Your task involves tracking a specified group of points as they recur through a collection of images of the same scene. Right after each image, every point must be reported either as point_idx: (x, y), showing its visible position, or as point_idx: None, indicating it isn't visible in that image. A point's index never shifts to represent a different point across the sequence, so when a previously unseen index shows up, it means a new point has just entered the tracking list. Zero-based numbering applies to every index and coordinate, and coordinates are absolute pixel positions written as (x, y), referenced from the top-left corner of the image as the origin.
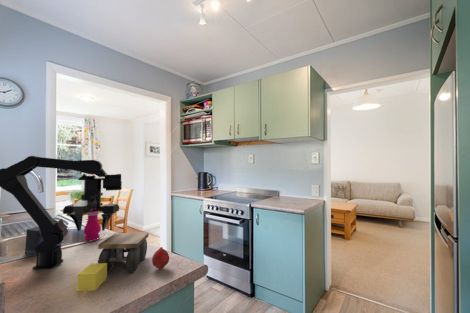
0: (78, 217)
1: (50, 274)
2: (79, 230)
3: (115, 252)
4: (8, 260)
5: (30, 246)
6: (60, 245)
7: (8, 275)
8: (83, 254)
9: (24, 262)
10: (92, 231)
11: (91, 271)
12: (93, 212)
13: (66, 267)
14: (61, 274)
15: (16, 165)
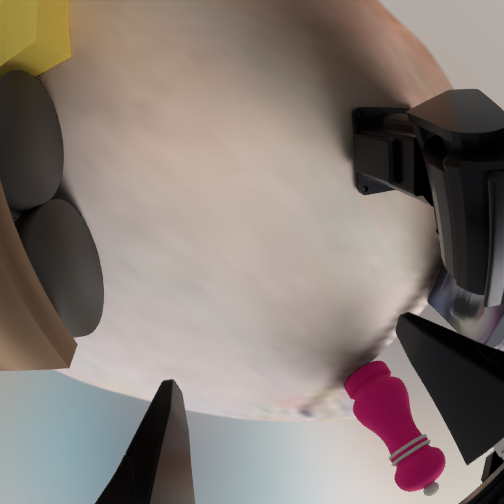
0: (483, 403)
1: (307, 55)
2: (399, 320)
3: (17, 219)
4: None
5: None
6: (432, 302)
7: (438, 74)
8: (316, 271)
9: None
10: (373, 395)
11: (1, 3)
12: (408, 455)
13: (291, 125)
14: (251, 55)
15: None
